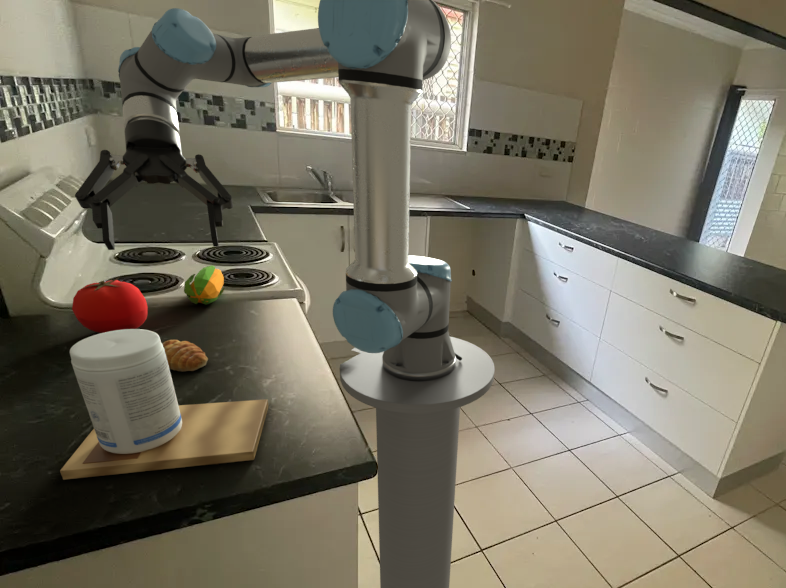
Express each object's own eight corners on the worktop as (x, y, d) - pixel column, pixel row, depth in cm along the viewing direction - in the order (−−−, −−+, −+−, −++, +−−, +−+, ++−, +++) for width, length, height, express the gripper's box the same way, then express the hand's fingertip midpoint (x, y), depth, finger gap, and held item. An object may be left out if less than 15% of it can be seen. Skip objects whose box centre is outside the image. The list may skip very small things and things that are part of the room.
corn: (176, 279, 107) (198, 256, 125) (179, 310, 110) (201, 283, 127) (213, 281, 110) (230, 258, 127) (216, 311, 113) (232, 285, 130)
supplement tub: (189, 413, 73) (170, 325, 67) (175, 451, 65) (152, 355, 59) (112, 421, 69) (85, 329, 63) (86, 462, 61) (53, 362, 55)
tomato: (161, 320, 105) (150, 272, 101) (140, 342, 95) (127, 289, 91) (96, 321, 102) (82, 271, 97) (68, 344, 92) (50, 289, 87)
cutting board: (268, 406, 79) (267, 398, 78) (254, 460, 67) (252, 450, 66) (110, 418, 72) (107, 409, 72) (62, 480, 60) (59, 470, 60)
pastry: (219, 363, 90) (216, 345, 89) (185, 378, 85) (181, 359, 83) (184, 351, 93) (180, 333, 92) (149, 365, 88) (144, 346, 86)
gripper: (239, 153, 88) (255, 252, 83) (63, 144, 76) (68, 259, 71) (236, 123, 82) (253, 228, 76) (44, 109, 70) (47, 232, 64)
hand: (164, 243), depth 74 cm, fingers open, 13 cm apart
